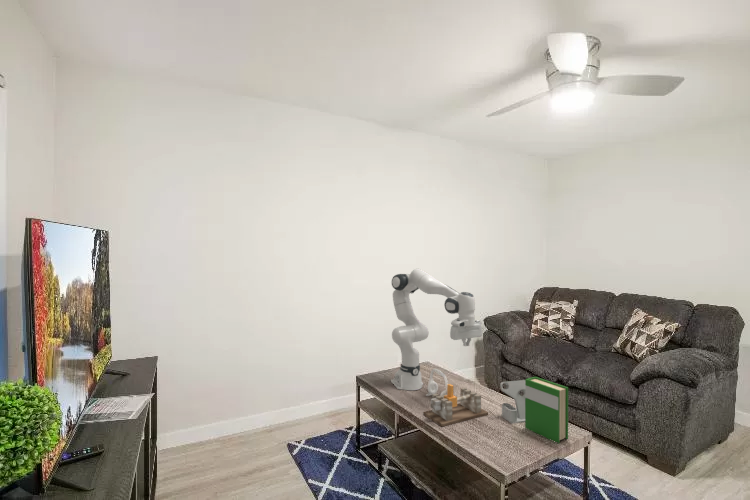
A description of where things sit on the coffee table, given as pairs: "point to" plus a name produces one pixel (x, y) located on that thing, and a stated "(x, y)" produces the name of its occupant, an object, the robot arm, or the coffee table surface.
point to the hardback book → (546, 408)
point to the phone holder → (513, 390)
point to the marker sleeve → (451, 395)
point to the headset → (433, 385)
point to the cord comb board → (455, 408)
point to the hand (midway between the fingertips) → (466, 346)
